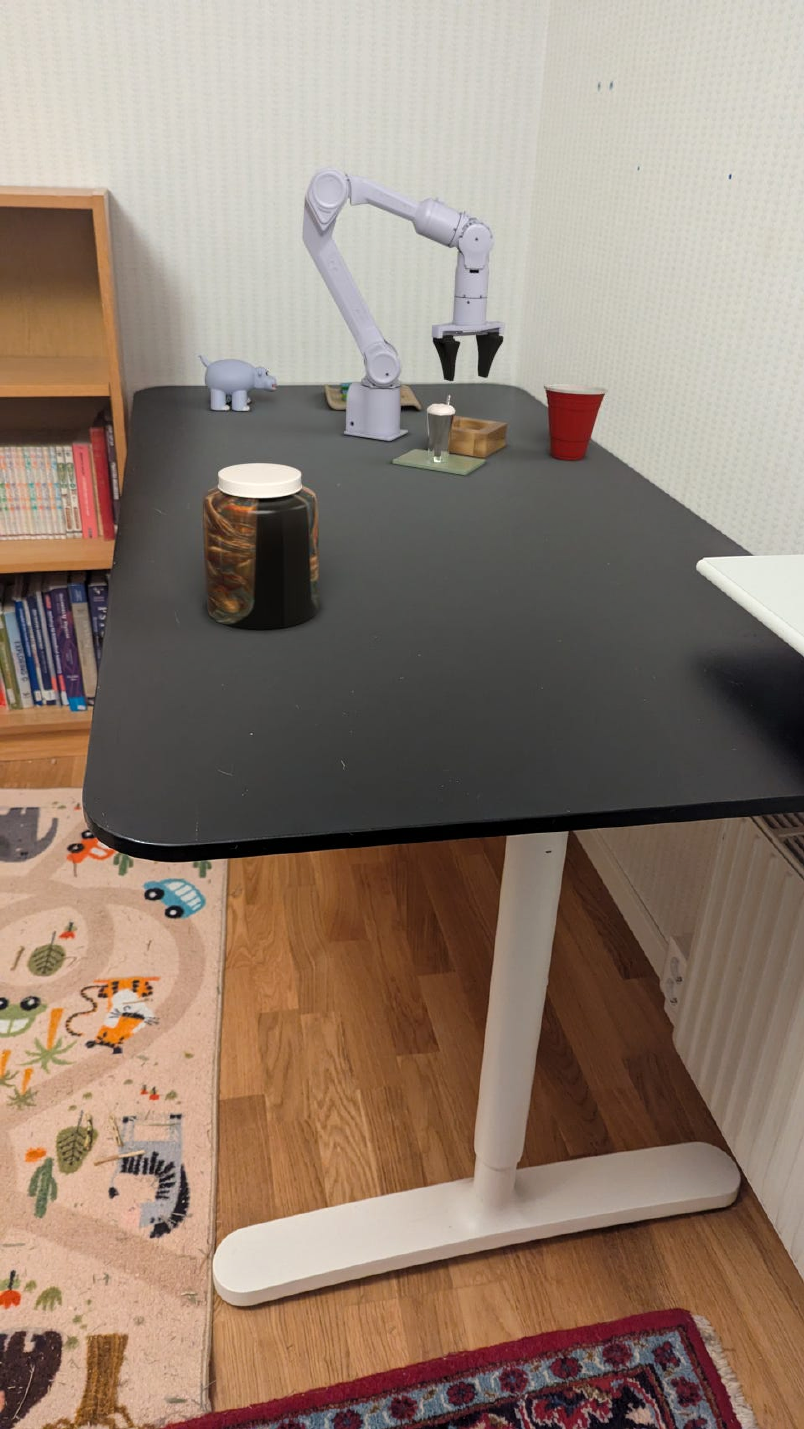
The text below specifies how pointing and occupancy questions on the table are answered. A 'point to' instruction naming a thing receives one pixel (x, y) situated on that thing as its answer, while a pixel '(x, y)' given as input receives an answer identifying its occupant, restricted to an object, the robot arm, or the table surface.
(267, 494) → the jar
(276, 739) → the table surface
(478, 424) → the holder
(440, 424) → the milkshake
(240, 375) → the hippopotamus toy
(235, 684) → the table surface
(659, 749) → the table surface
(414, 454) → the tile
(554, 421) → the plastic cup
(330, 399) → the puzzle board
